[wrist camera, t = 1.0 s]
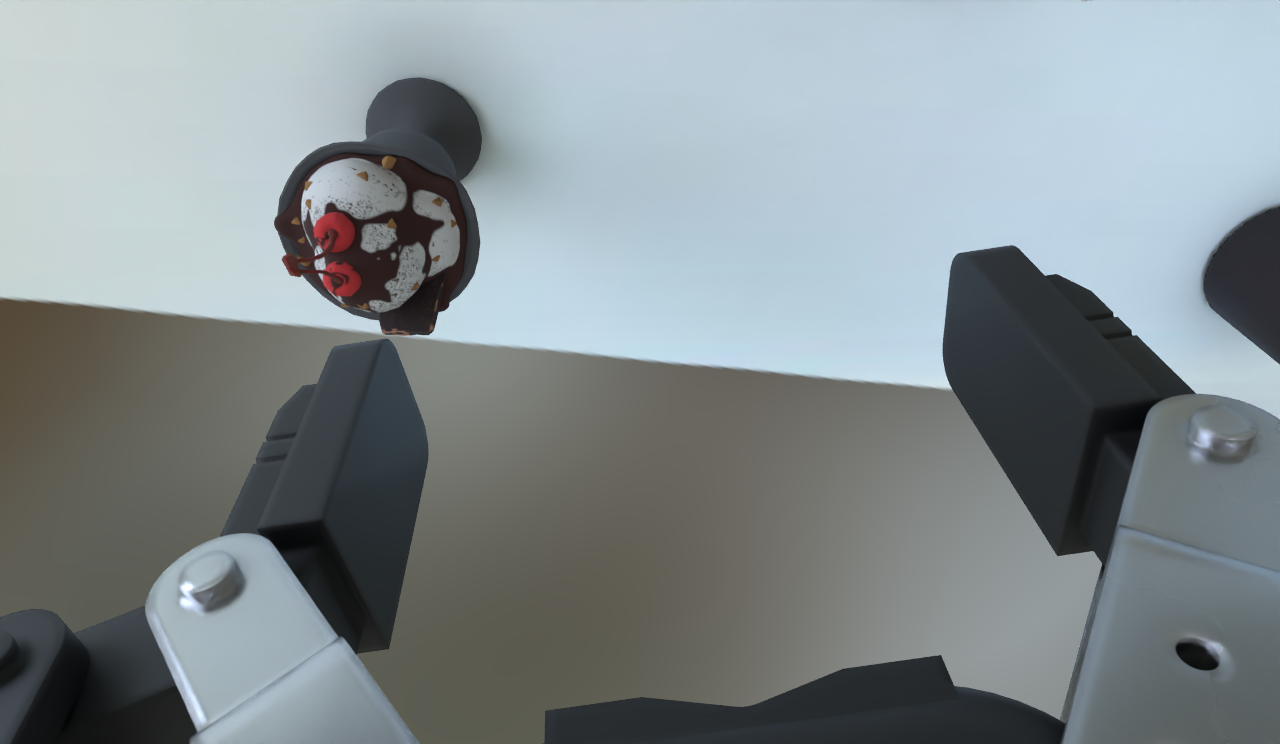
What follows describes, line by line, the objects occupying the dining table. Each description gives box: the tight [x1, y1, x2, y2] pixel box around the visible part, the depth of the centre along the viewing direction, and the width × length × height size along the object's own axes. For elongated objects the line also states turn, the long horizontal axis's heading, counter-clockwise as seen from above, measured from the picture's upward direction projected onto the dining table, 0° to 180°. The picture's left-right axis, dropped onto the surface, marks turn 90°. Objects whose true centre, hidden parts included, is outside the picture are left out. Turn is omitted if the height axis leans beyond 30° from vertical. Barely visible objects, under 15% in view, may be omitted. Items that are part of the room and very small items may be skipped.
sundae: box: [274, 78, 482, 336], centre depth 30 cm, size 7×7×15 cm
